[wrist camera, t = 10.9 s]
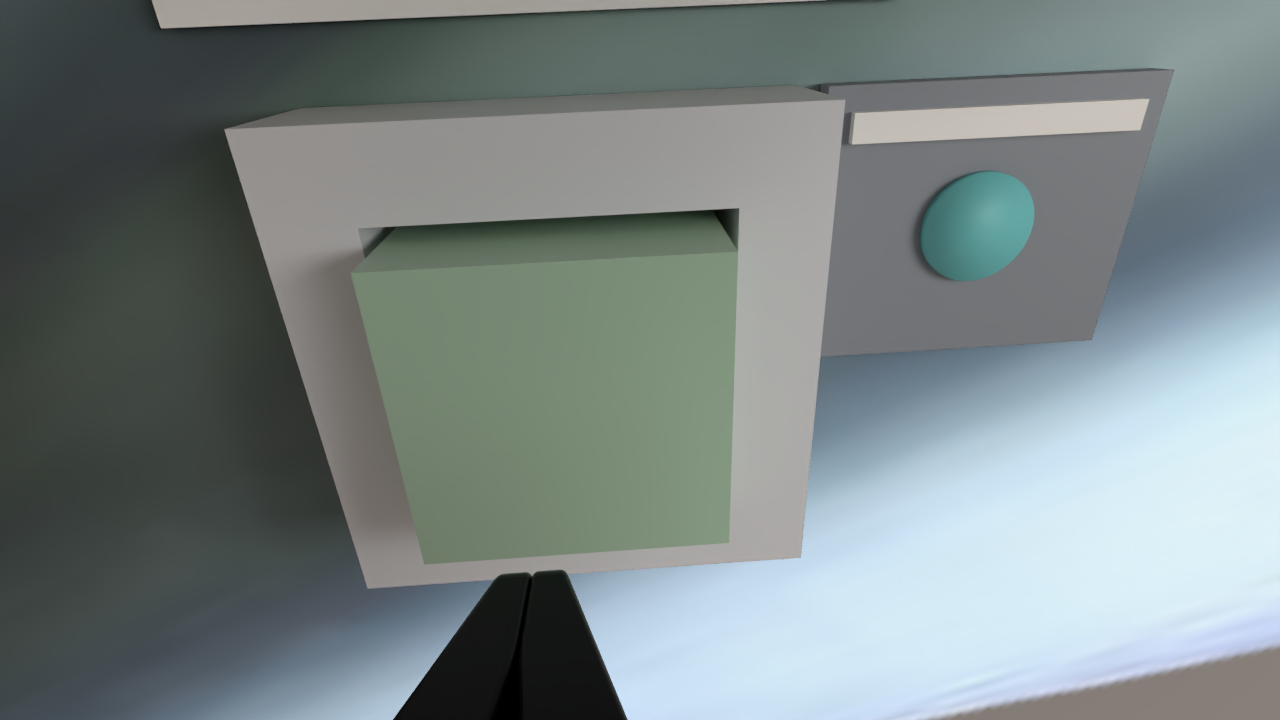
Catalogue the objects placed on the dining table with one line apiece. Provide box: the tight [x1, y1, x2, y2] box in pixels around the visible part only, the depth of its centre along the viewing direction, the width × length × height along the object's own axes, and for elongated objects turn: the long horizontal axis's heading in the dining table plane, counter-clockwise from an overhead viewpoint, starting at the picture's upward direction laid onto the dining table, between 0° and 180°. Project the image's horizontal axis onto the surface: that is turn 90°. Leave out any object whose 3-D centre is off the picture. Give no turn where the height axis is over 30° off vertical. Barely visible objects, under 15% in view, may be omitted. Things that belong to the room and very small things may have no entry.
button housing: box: [224, 85, 845, 589], centre depth 14 cm, size 10×10×3 cm
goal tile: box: [820, 68, 1174, 357], centre depth 15 cm, size 7×6×1 cm
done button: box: [351, 210, 738, 565], centre depth 13 cm, size 6×6×4 cm
